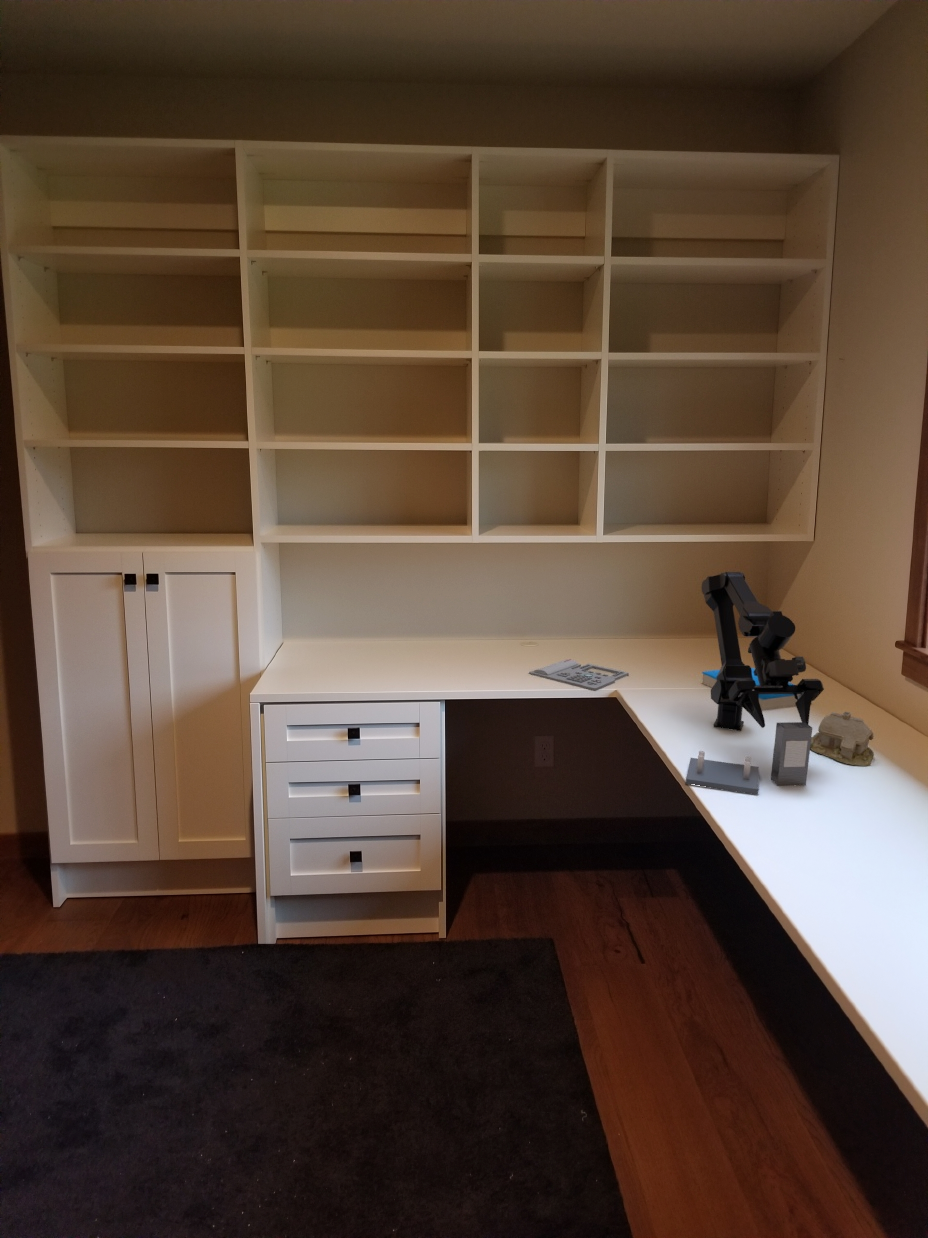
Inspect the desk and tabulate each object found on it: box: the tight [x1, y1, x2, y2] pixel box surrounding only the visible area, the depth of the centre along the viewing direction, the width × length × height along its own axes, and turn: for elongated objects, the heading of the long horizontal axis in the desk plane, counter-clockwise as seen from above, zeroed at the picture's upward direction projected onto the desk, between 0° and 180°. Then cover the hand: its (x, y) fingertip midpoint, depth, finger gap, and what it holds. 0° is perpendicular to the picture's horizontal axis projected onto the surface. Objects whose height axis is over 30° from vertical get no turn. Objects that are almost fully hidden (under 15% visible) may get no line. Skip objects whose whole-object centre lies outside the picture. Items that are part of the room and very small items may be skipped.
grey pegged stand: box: [685, 750, 760, 795], centre depth 173 cm, size 12×14×5 cm
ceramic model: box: [810, 711, 875, 767], centre depth 187 cm, size 14×11×10 cm
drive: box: [770, 721, 813, 787], centre depth 171 cm, size 3×6×12 cm, turn 94°
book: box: [701, 667, 797, 711], centre depth 230 cm, size 17×4×25 cm
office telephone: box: [528, 658, 630, 692], centre depth 245 cm, size 23×3×20 cm
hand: (785, 726), depth 174 cm, fingers open, 9 cm apart
